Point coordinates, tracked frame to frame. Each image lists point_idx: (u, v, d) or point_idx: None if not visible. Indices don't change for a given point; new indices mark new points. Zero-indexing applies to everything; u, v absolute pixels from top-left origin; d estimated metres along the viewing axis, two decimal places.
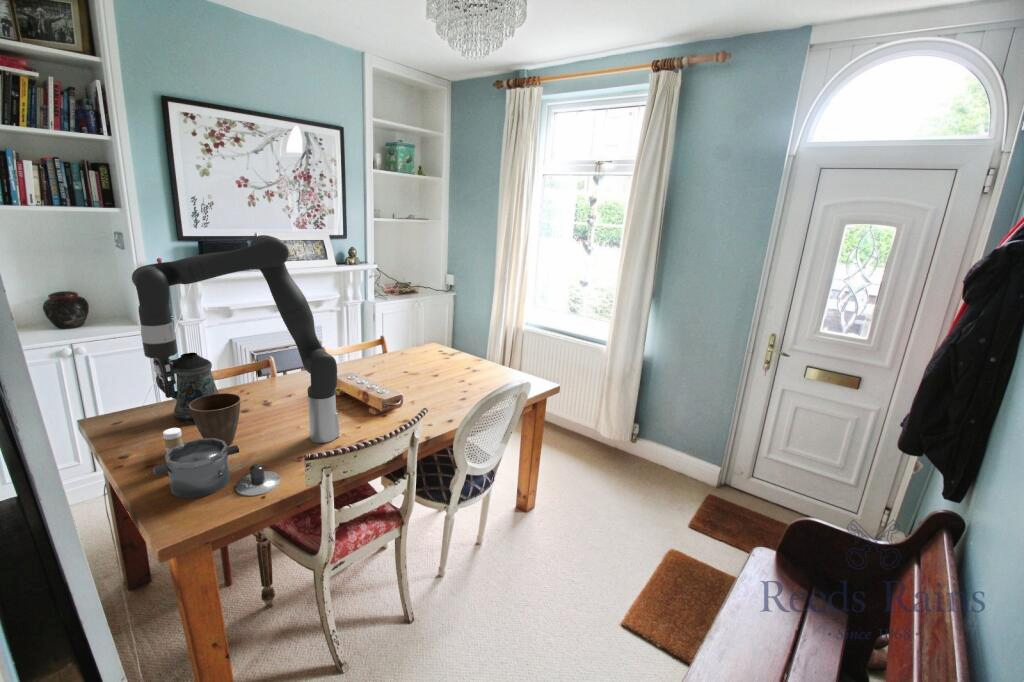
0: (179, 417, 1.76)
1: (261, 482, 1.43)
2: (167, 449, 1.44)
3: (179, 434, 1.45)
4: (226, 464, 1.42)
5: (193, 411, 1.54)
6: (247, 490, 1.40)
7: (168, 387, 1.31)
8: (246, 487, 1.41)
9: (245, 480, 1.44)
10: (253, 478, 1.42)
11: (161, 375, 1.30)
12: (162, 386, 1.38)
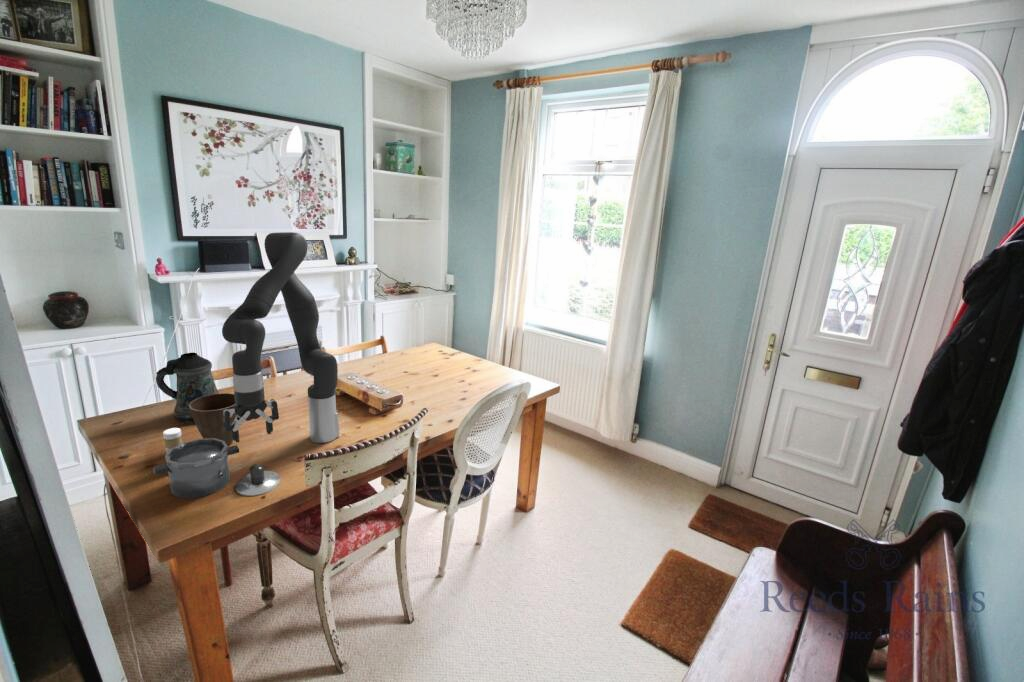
0: (179, 417, 1.76)
1: (261, 482, 1.43)
2: (167, 449, 1.44)
3: (179, 434, 1.45)
4: (226, 464, 1.42)
5: (193, 411, 1.54)
6: (247, 490, 1.40)
7: None
8: (246, 487, 1.41)
9: (245, 480, 1.44)
10: (252, 478, 1.42)
11: (266, 415, 1.39)
12: None
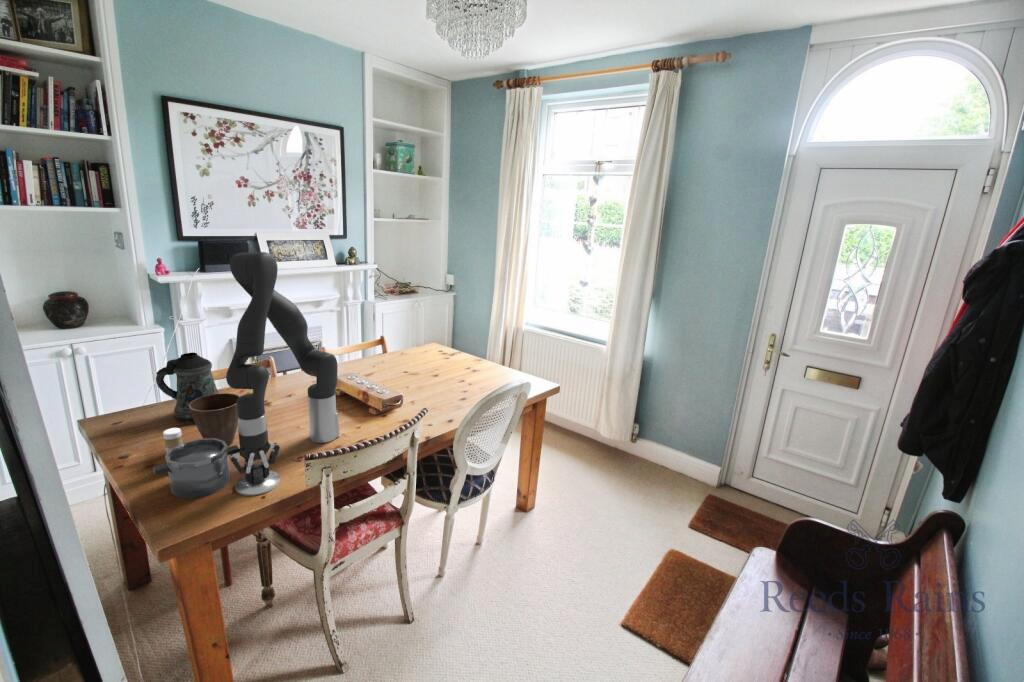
0: (179, 417, 1.76)
1: (261, 482, 1.43)
2: (167, 449, 1.44)
3: (179, 434, 1.45)
4: (226, 464, 1.42)
5: (193, 411, 1.54)
6: (246, 489, 1.39)
7: None
8: (245, 486, 1.41)
9: (245, 479, 1.44)
10: (252, 477, 1.41)
11: (266, 458, 1.43)
12: None
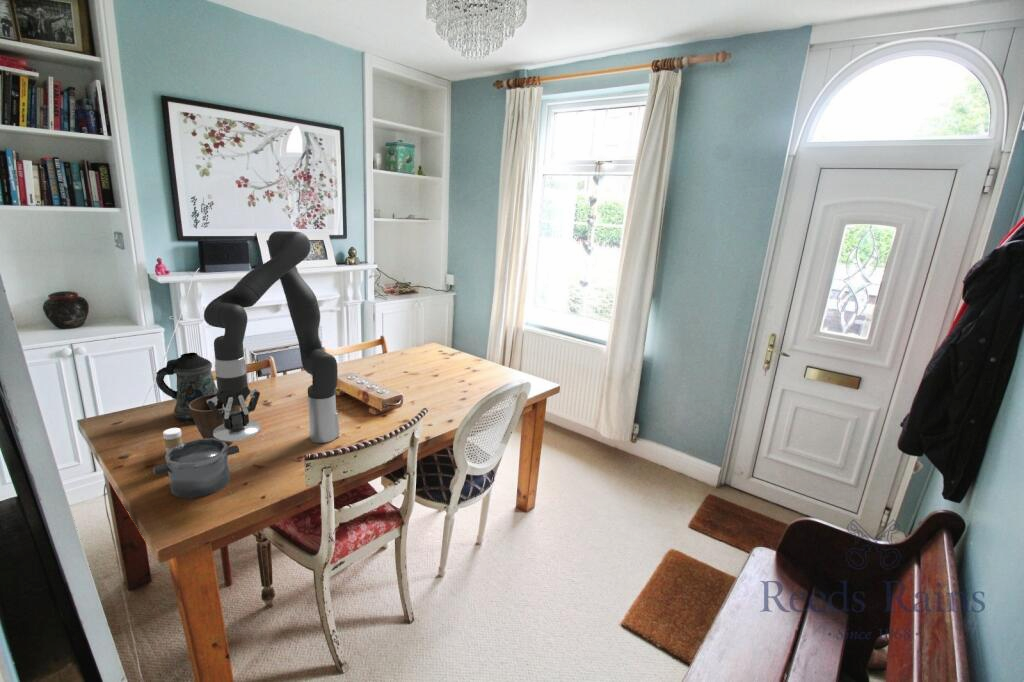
0: (179, 417, 1.76)
1: (240, 429, 1.37)
2: (167, 449, 1.44)
3: (179, 434, 1.45)
4: (226, 464, 1.42)
5: (193, 411, 1.54)
6: (224, 435, 1.34)
7: None
8: (224, 433, 1.35)
9: (224, 427, 1.38)
10: (231, 424, 1.36)
11: (245, 405, 1.37)
12: None
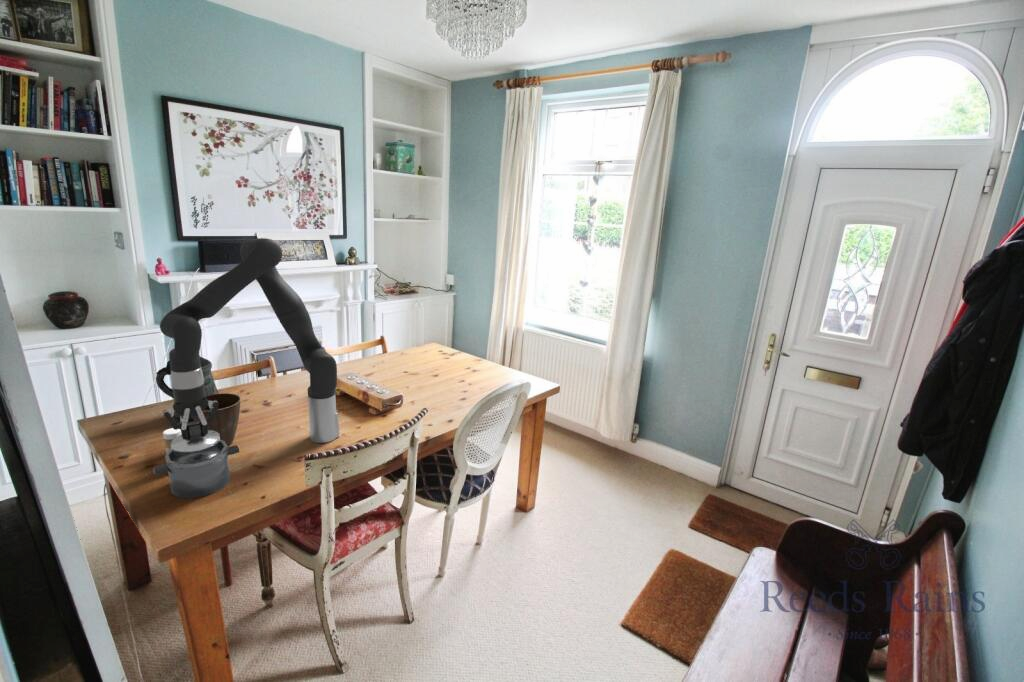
0: (179, 417, 1.76)
1: (198, 439, 1.37)
2: (167, 449, 1.44)
3: (179, 434, 1.45)
4: (226, 464, 1.42)
5: None
6: (181, 446, 1.34)
7: None
8: (181, 443, 1.35)
9: None
10: (189, 435, 1.36)
11: None
12: None
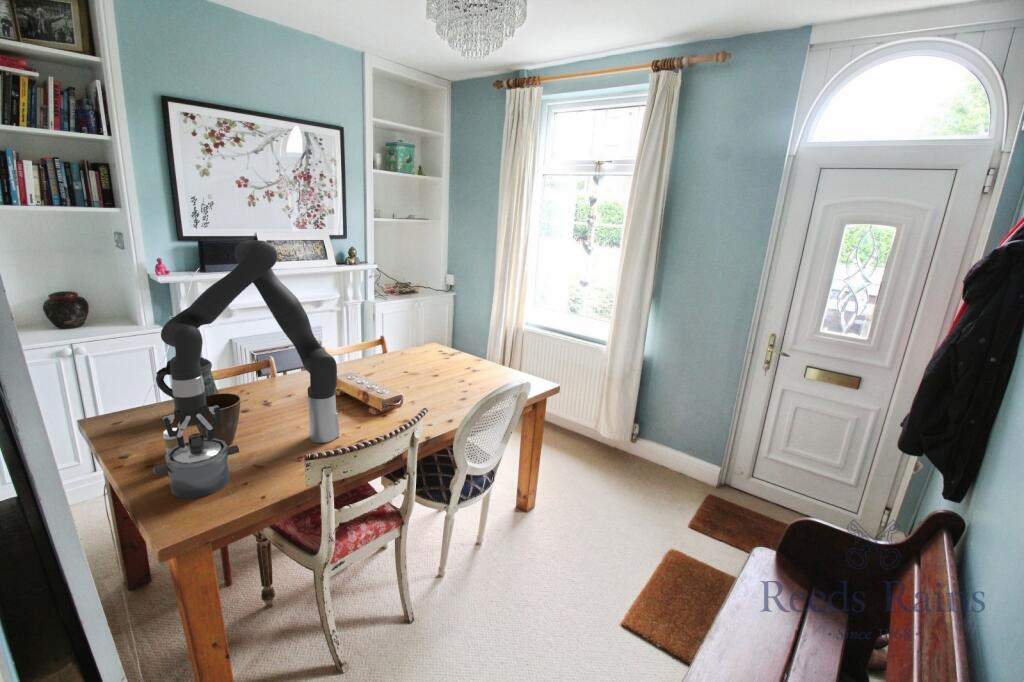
0: None
1: (200, 451, 1.38)
2: (167, 449, 1.44)
3: None
4: (226, 464, 1.42)
5: None
6: (183, 458, 1.35)
7: None
8: (183, 456, 1.36)
9: (185, 449, 1.40)
10: (191, 447, 1.37)
11: (207, 421, 1.38)
12: None
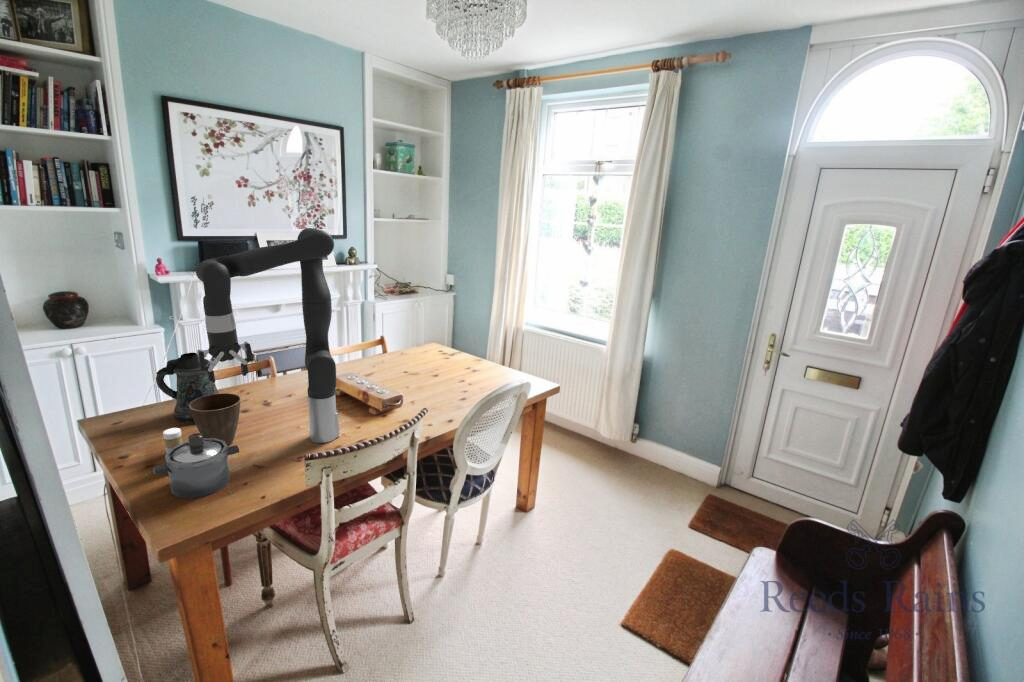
0: (179, 417, 1.76)
1: (200, 451, 1.38)
2: (167, 449, 1.44)
3: (179, 434, 1.45)
4: (226, 464, 1.42)
5: (193, 411, 1.54)
6: (183, 458, 1.35)
7: None
8: (183, 456, 1.36)
9: (185, 449, 1.40)
10: (191, 447, 1.37)
11: (240, 356, 1.45)
12: None
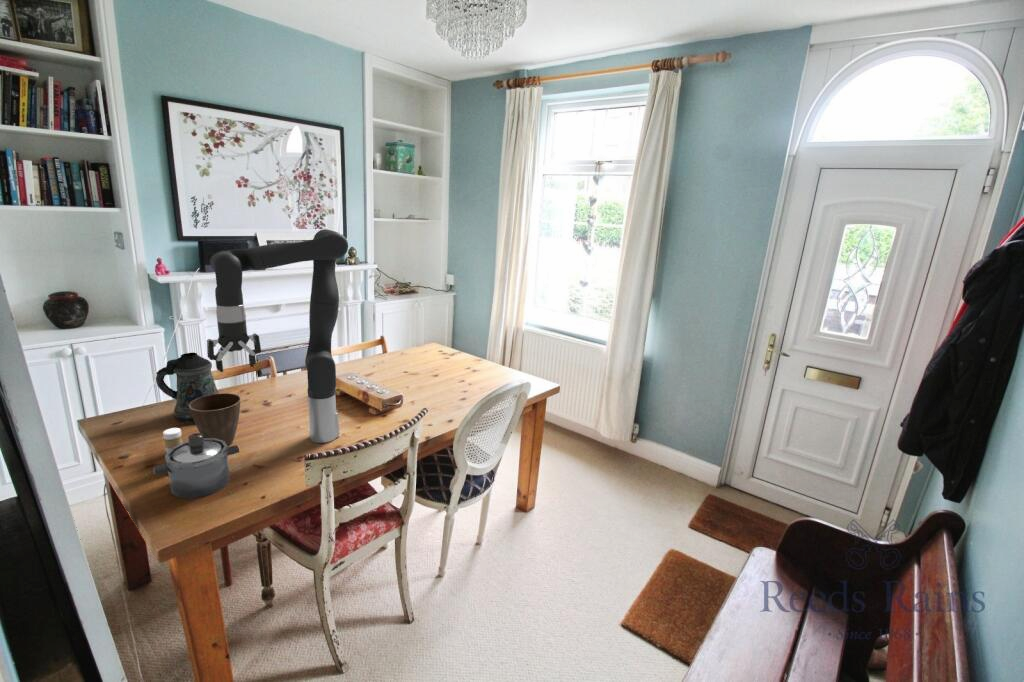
0: (179, 417, 1.76)
1: (200, 451, 1.38)
2: (167, 449, 1.44)
3: (179, 434, 1.45)
4: (226, 464, 1.42)
5: (193, 411, 1.54)
6: (183, 458, 1.35)
7: None
8: (183, 456, 1.36)
9: (185, 449, 1.40)
10: (191, 447, 1.37)
11: None
12: None
